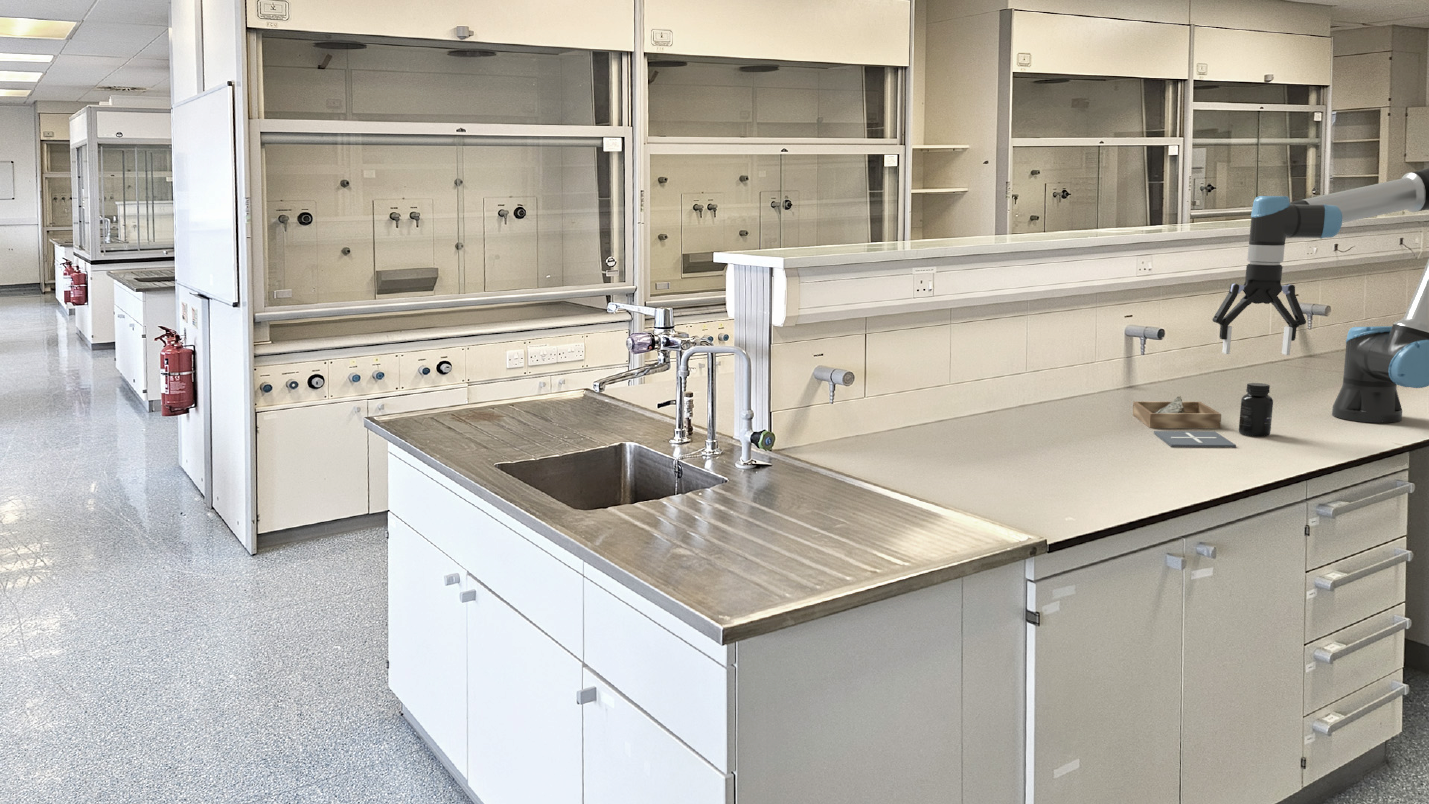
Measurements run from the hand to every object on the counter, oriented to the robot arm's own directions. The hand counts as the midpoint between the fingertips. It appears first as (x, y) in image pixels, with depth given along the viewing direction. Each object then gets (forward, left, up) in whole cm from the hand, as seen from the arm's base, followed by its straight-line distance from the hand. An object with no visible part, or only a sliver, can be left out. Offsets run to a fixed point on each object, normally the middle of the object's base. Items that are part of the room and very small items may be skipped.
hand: (1255, 354), depth 259 cm
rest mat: (+16, +9, -19) cm, 26 cm away
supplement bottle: (0, +2, -19) cm, 19 cm away
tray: (+14, -12, -19) cm, 26 cm away
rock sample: (+15, -13, -19) cm, 27 cm away
